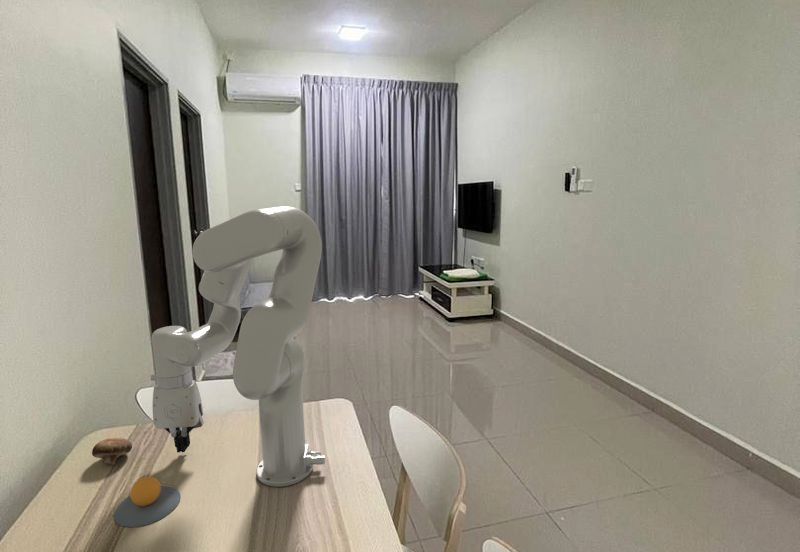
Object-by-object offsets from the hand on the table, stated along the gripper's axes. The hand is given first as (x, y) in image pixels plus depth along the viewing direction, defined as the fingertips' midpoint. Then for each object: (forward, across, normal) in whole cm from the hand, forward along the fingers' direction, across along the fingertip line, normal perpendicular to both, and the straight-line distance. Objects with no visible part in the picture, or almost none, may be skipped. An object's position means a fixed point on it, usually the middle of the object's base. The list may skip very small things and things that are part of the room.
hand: (183, 449), depth 111 cm
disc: (+2, 0, -18) cm, 18 cm away
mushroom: (+2, -16, -1) cm, 16 cm away
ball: (-1, -1, -17) cm, 17 cm away
